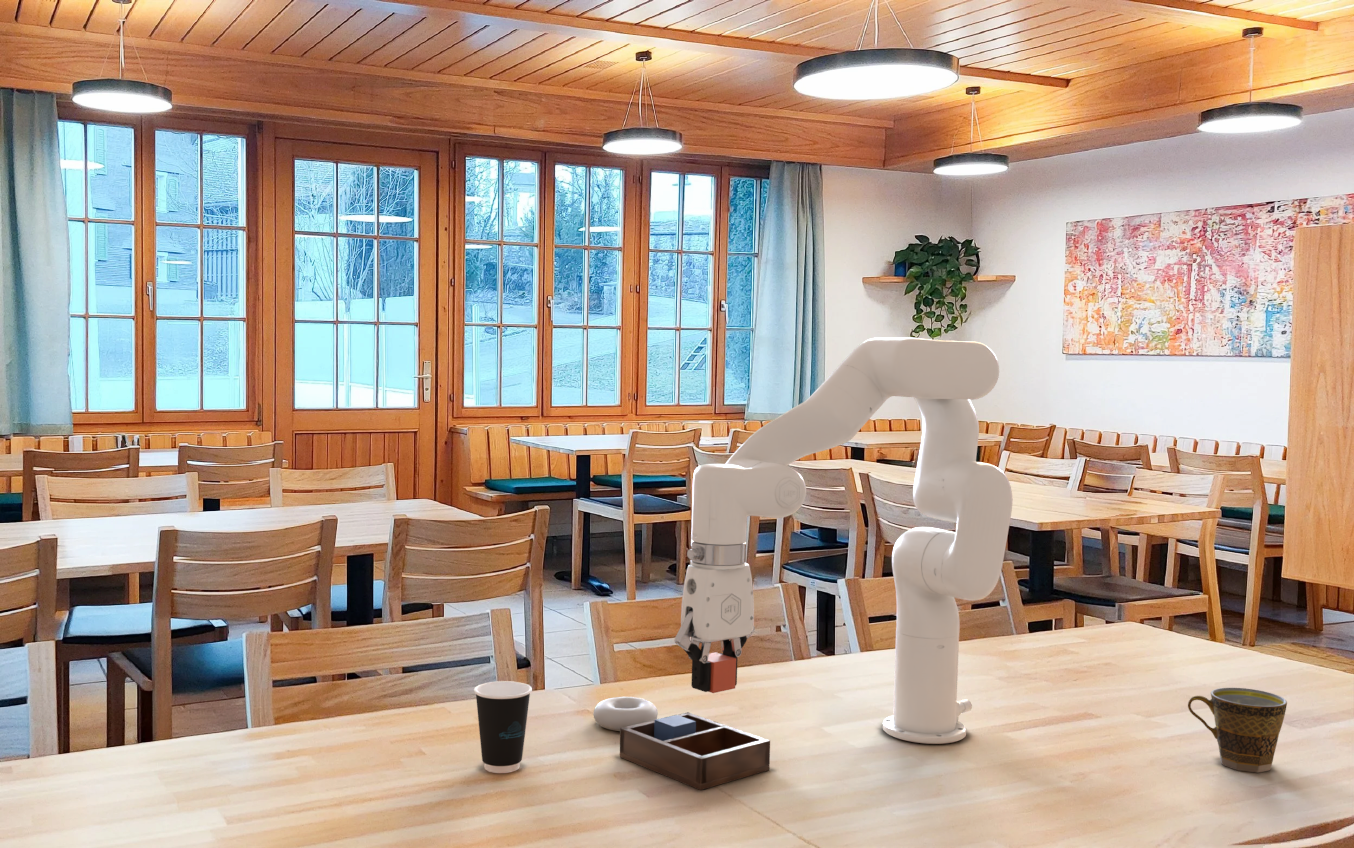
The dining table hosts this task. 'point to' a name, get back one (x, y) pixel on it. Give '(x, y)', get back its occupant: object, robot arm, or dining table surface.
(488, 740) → the dixie cup
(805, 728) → the dining table surface
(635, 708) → the donut
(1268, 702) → the ceramic cup
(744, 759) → the sorting tray
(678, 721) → the slate block
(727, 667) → the terracotta block
